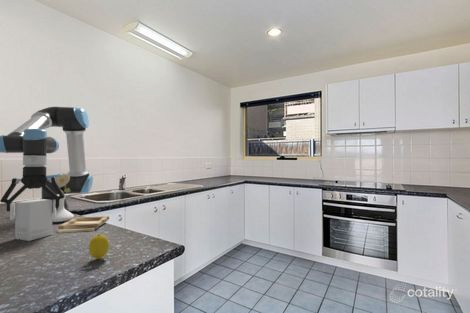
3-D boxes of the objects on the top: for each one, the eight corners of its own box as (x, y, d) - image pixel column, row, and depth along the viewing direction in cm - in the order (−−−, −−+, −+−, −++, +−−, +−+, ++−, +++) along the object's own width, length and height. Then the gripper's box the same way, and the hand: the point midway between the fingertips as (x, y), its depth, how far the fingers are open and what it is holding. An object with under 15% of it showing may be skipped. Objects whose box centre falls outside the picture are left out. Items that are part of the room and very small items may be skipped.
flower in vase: (42, 222, 122) (43, 173, 122) (67, 217, 132) (67, 172, 132) (56, 225, 116) (56, 174, 116) (80, 220, 126) (80, 172, 126)
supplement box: (53, 234, 101) (53, 199, 102) (29, 241, 93) (29, 203, 93) (38, 232, 104) (39, 198, 105) (14, 239, 96) (14, 201, 96)
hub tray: (77, 221, 123) (77, 216, 123) (110, 219, 126) (110, 215, 126) (55, 232, 104) (55, 227, 104) (95, 230, 107) (95, 225, 107)
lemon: (94, 256, 78) (94, 231, 78) (111, 255, 79) (111, 231, 79) (85, 263, 73) (85, 237, 73) (104, 262, 73) (104, 236, 73)
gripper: (-10, 166, 90) (-12, 223, 89) (70, 165, 102) (69, 215, 102) (-3, 166, 96) (-4, 219, 95) (71, 165, 109) (71, 212, 108)
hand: (34, 217), depth 99 cm, fingers open, 13 cm apart
